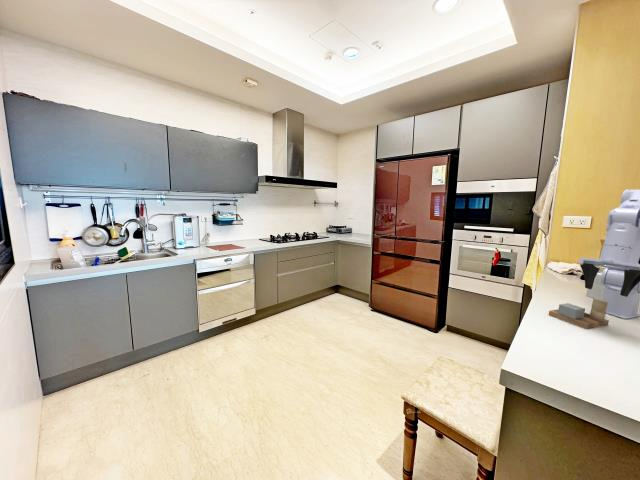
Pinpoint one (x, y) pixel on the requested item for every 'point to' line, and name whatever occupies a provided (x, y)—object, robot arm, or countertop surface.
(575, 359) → the countertop surface
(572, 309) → the grey block
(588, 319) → the board
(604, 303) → the peg
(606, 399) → the countertop surface
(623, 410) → the countertop surface
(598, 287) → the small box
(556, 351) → the countertop surface
